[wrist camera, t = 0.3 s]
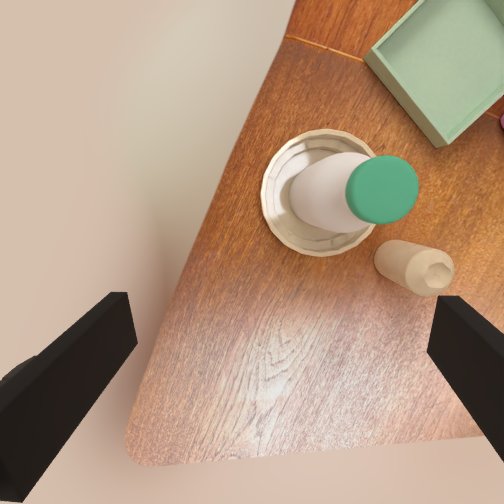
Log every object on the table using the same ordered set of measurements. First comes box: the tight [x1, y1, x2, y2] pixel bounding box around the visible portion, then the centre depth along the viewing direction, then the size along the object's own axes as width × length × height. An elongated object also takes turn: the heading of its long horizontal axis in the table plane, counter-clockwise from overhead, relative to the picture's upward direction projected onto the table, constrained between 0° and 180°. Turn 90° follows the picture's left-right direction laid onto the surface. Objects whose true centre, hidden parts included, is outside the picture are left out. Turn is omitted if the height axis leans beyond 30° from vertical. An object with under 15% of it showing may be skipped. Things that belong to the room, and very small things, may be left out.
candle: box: [374, 240, 454, 297], centre depth 36 cm, size 6×6×10 cm
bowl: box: [259, 129, 377, 257], centre depth 37 cm, size 15×15×4 cm
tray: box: [363, 0, 504, 148], centre depth 35 cm, size 15×15×2 cm
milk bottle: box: [289, 152, 419, 233], centre depth 29 cm, size 8×8×20 cm
